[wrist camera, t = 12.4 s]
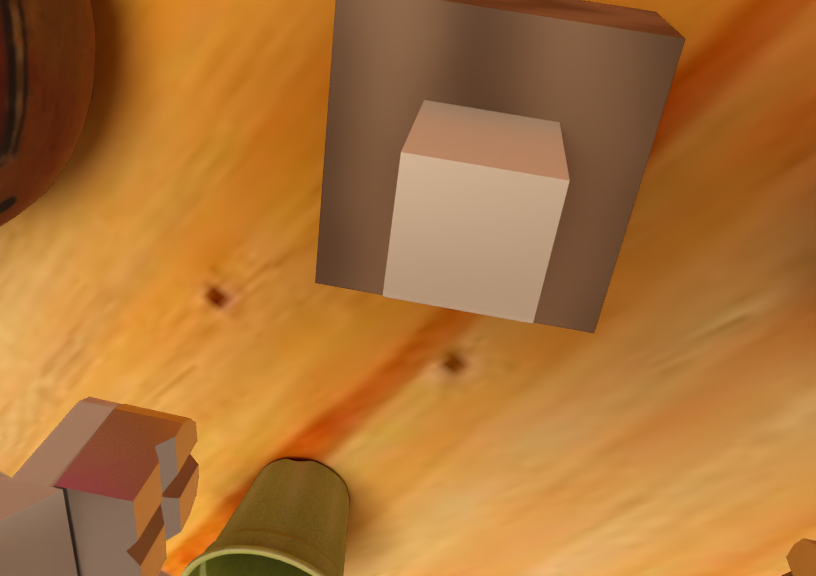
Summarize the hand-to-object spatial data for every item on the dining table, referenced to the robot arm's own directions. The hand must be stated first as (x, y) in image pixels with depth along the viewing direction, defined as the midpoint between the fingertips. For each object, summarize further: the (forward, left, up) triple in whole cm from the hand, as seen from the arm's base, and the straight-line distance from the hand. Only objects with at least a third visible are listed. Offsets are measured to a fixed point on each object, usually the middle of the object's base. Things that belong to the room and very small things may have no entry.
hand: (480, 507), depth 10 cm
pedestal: (+1, +2, -25) cm, 25 cm away
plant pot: (+8, +27, -25) cm, 38 cm away
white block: (+1, +2, -19) cm, 19 cm away
